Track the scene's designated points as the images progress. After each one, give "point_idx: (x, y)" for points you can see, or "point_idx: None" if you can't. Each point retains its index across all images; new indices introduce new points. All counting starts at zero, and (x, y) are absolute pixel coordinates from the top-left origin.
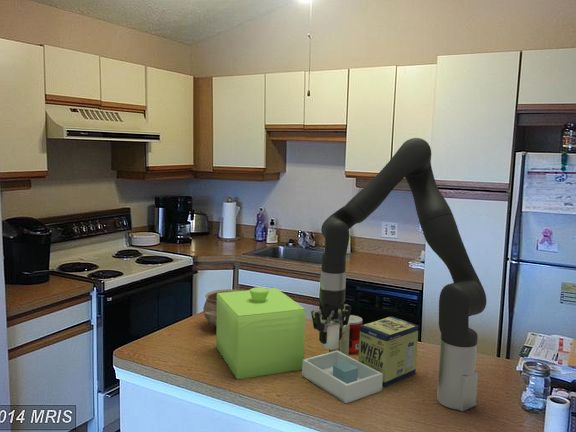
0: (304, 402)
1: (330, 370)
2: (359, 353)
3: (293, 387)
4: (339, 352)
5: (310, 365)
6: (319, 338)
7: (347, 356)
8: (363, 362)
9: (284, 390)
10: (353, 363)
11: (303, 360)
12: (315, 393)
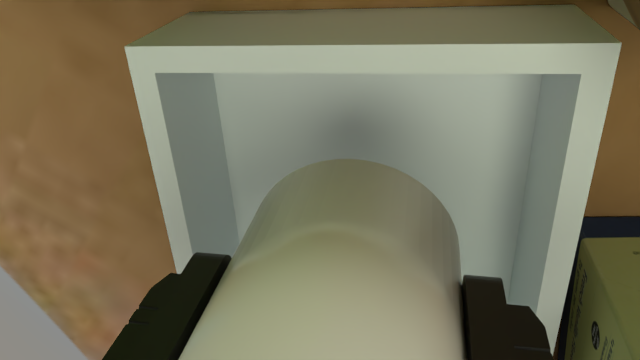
0: (74, 269)
1: (421, 89)
2: (624, 348)
3: (71, 121)
4: (585, 107)
5: (155, 158)
6: (145, 303)
7: (567, 218)
8: (593, 340)
9: (9, 121)
10: (534, 278)
11: (129, 59)
12: (163, 239)
